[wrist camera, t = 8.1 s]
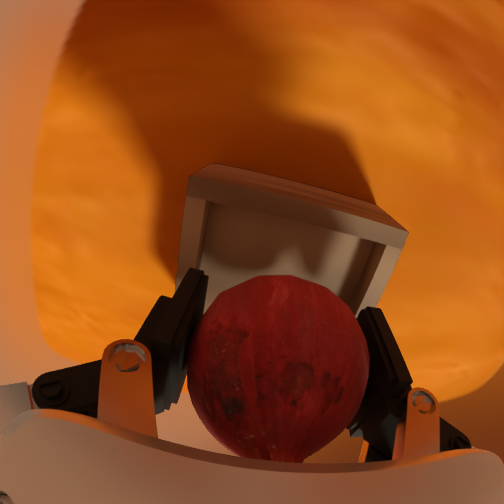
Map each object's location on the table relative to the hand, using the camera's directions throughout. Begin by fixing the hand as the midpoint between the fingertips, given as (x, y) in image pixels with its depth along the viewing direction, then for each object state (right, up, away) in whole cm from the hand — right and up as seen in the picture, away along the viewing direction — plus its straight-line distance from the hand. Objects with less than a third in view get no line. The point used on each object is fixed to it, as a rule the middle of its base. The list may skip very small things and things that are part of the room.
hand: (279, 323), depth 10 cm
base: (0, +2, +5) cm, 6 cm away
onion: (0, +1, +2) cm, 2 cm away
